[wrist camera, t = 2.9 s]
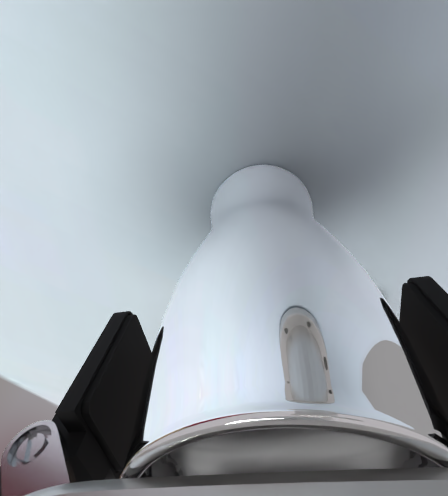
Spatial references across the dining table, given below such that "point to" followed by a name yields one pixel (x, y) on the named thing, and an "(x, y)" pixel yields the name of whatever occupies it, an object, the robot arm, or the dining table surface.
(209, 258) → the beer glass
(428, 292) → the robot arm
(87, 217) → the dining table surface
